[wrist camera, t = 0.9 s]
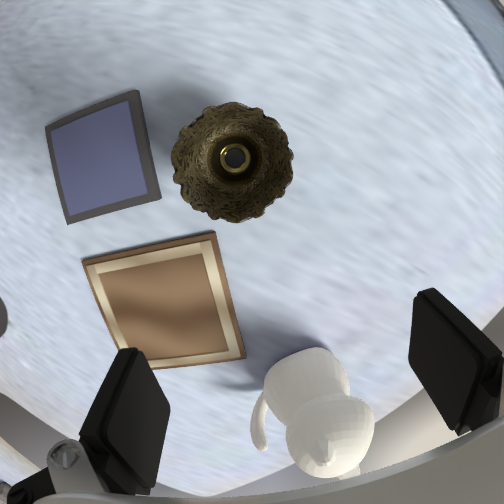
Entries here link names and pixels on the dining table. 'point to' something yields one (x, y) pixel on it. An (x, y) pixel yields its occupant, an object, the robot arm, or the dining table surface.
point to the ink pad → (103, 158)
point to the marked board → (168, 302)
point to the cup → (224, 176)
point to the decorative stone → (4, 491)
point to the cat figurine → (315, 414)
